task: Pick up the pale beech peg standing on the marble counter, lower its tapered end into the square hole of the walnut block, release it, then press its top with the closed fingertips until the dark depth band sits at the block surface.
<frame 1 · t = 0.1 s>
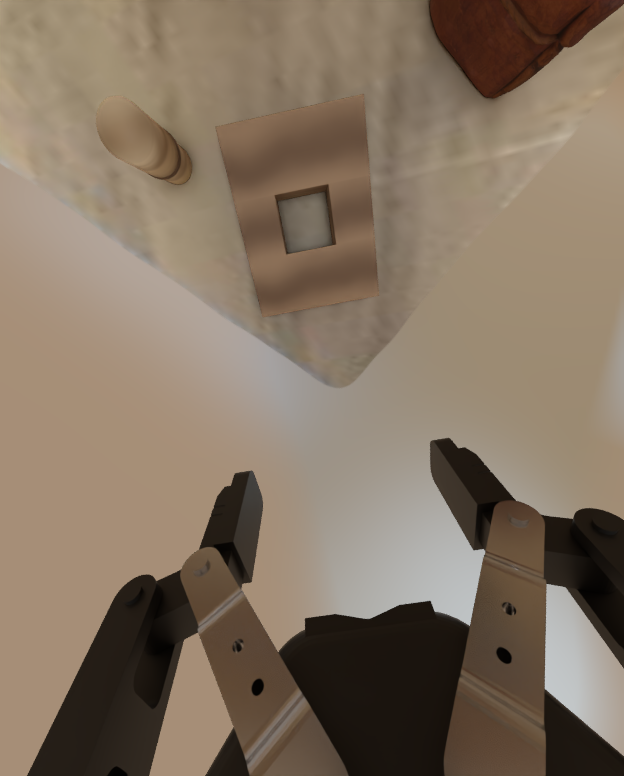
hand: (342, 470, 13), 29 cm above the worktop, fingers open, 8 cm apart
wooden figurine: (474, 33, 28), on the worktop
beech peg: (174, 164, 32), on the worktop
walnut block: (305, 223, 34), on the worktop
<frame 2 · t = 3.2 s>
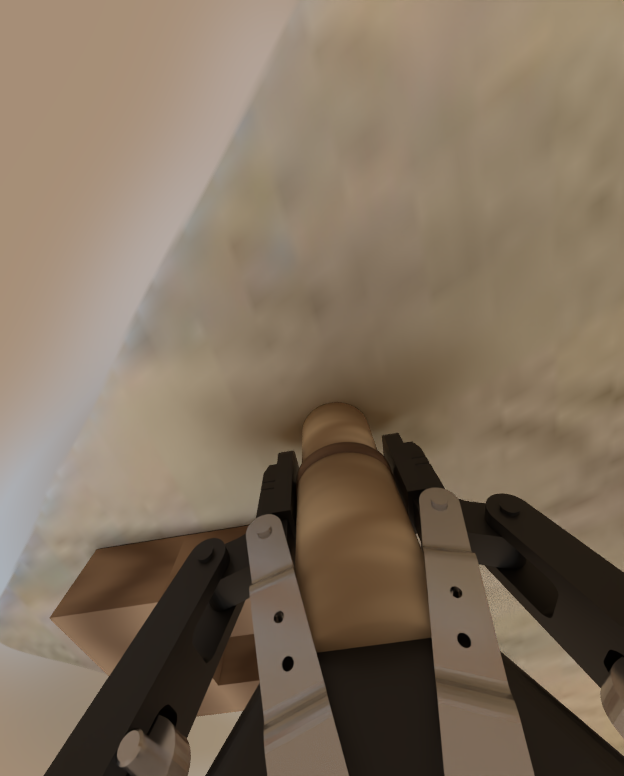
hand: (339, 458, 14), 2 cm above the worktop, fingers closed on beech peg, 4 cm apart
beech peg: (335, 431, 16), on the worktop, touching gripper
walnut block: (256, 592, 22), on the worktop
when the fingers open (5 cm above the worktop, at t = 8.2 s): beech peg drops 3 cm, resting in walnut block.
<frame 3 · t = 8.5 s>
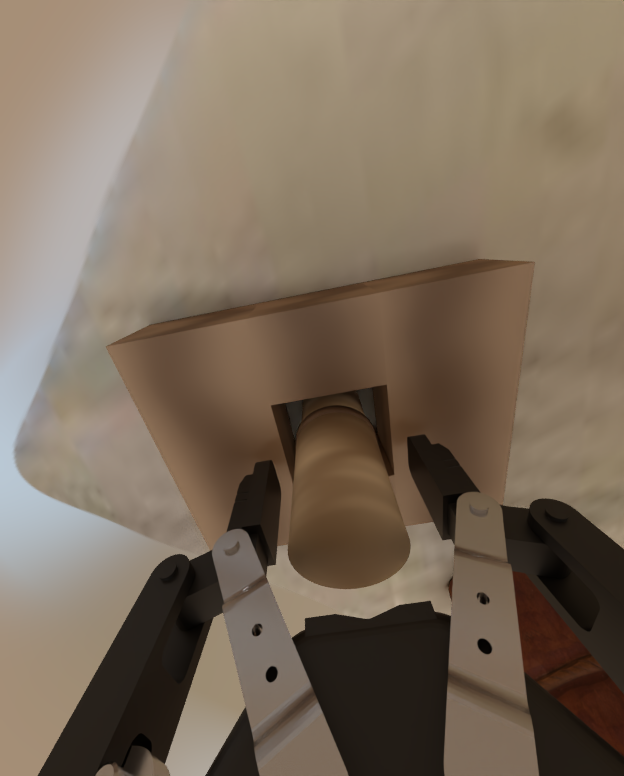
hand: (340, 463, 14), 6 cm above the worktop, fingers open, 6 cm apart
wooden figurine: (505, 560, 26), on the worktop
beech peg: (331, 404, 19), resting in walnut block
walnut block: (330, 405, 19), on the worktop
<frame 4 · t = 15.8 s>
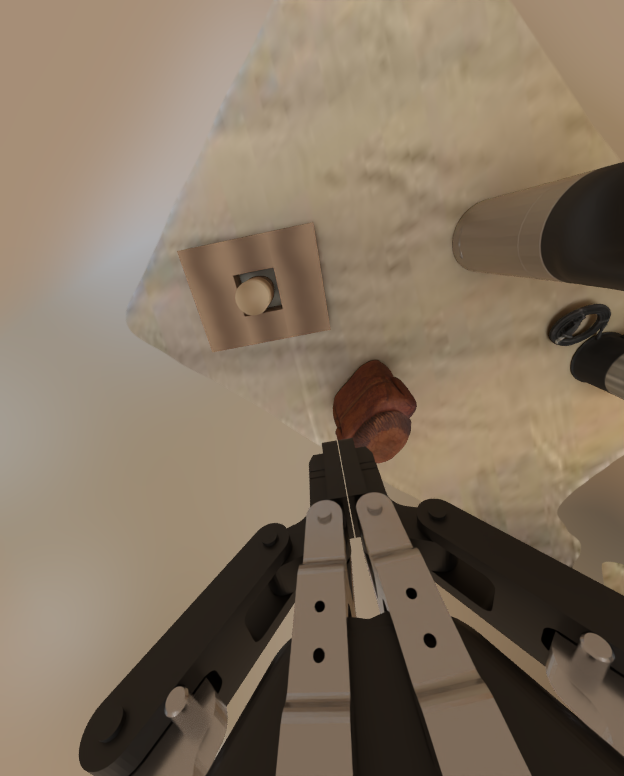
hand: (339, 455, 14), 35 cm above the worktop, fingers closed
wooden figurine: (361, 385, 52), on the worktop
beech peg: (262, 288, 44), resting in walnut block
walnut block: (262, 289, 44), on the worktop
milk frother: (583, 344, 50), on the worktop
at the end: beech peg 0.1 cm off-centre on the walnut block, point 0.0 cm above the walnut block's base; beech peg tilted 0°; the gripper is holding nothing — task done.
